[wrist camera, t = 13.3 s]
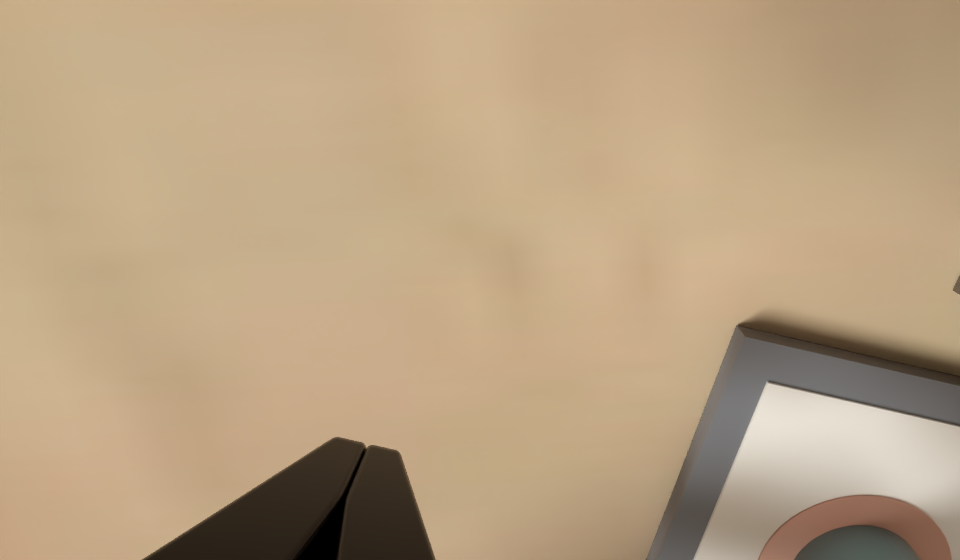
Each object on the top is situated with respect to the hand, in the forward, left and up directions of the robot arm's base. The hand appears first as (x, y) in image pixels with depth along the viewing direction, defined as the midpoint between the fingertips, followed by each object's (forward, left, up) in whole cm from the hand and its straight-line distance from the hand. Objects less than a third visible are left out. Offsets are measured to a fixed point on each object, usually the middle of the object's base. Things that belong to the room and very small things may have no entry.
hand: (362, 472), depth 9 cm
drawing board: (-8, -15, -12) cm, 21 cm away
